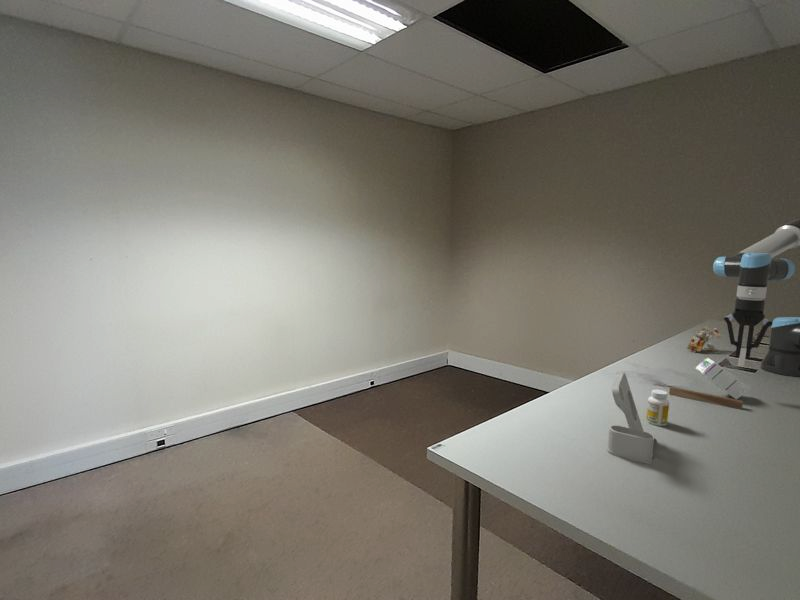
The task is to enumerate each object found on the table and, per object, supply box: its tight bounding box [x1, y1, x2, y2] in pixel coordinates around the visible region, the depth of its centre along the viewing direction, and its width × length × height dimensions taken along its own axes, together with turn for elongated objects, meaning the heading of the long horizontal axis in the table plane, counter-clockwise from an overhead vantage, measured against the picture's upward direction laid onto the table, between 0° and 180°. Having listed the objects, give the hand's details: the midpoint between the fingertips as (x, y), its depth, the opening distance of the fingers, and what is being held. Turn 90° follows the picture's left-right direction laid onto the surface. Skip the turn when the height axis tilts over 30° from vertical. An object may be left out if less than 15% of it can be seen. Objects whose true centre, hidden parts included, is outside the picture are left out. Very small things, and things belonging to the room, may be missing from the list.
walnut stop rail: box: [668, 386, 744, 410], centre depth 140 cm, size 2×20×2 cm, turn 50°
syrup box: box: [695, 357, 750, 400], centre depth 144 cm, size 6×6×14 cm
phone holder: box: [606, 372, 655, 465], centre depth 108 cm, size 17×10×18 cm, turn 146°
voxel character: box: [686, 325, 722, 354], centre depth 201 cm, size 11×10×15 cm
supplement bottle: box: [645, 389, 670, 427], centre depth 123 cm, size 5×5×10 cm
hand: (741, 365), depth 142 cm, fingers closed
